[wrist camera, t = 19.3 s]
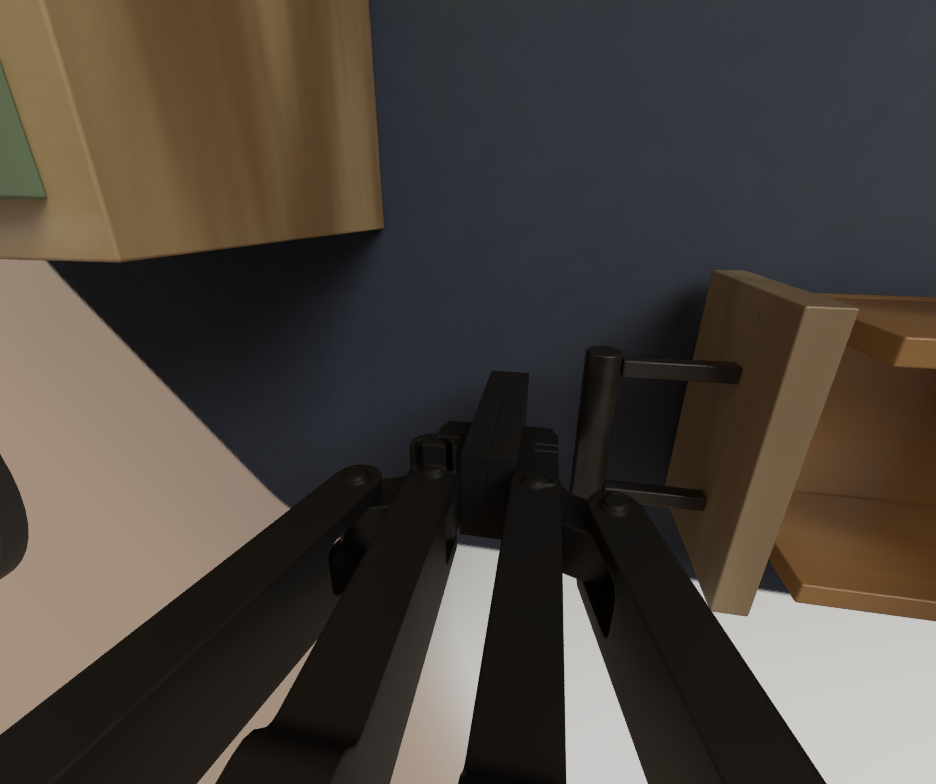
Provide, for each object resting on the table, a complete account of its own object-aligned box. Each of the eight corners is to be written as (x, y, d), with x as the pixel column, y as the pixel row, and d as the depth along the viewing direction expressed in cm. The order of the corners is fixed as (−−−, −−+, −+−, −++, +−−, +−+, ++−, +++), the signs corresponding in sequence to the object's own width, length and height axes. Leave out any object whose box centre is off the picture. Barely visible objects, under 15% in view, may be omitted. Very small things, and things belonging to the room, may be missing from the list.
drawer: (561, 481, 22) (565, 591, 15) (584, 266, 18) (602, 298, 11) (993, 526, 19) (1209, 683, 13) (1142, 281, 15) (1572, 335, 8)
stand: (149, 225, 21) (-357, 247, 9) (78, -45, 17) (-950, -590, 5) (384, 228, 19) (119, 263, 7) (364, -74, 15) (-264, -1015, 4)
